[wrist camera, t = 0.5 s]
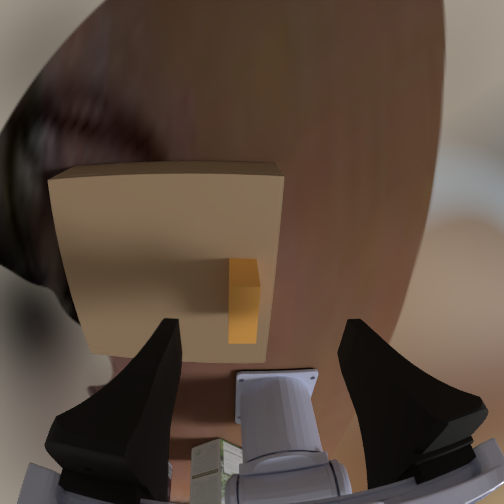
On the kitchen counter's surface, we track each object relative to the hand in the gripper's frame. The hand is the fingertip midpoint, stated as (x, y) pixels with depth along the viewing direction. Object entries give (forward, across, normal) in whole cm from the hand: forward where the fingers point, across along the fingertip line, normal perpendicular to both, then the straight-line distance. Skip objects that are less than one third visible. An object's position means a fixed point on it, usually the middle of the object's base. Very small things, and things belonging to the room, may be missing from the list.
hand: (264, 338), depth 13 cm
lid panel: (+7, +6, +2) cm, 9 cm away
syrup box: (+11, +2, +32) cm, 33 cm away
